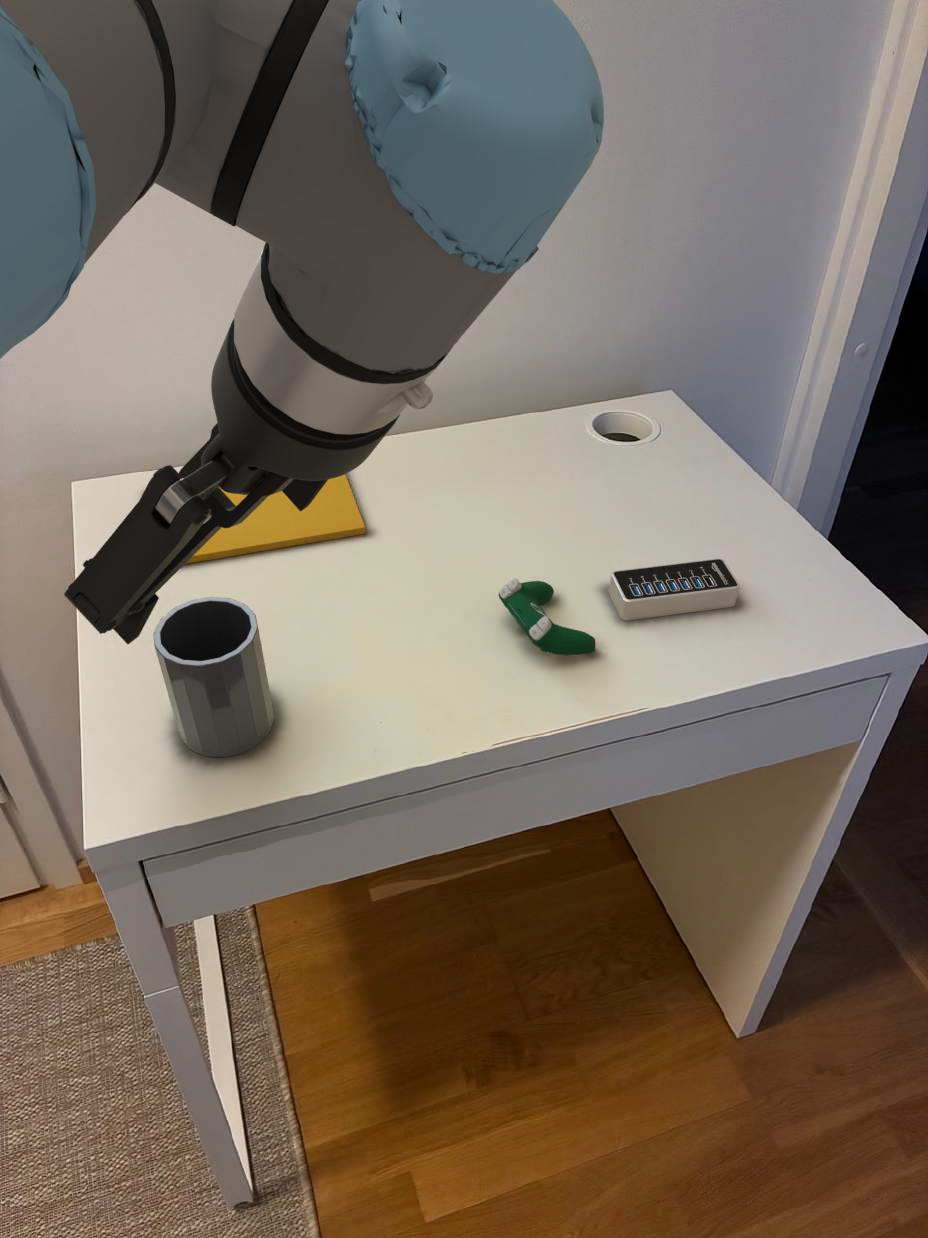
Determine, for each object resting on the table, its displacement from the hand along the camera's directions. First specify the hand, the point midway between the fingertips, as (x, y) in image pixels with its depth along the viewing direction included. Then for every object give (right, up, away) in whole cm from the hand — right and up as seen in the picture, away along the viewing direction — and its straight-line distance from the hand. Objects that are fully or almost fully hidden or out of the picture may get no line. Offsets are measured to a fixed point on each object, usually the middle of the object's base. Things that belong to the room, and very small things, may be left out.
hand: (208, 553), depth 56 cm
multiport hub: (+34, -2, +33) cm, 47 cm away
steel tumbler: (-4, -12, +21) cm, 24 cm away
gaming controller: (+22, -5, +29) cm, 37 cm away
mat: (-6, +7, +42) cm, 43 cm away
